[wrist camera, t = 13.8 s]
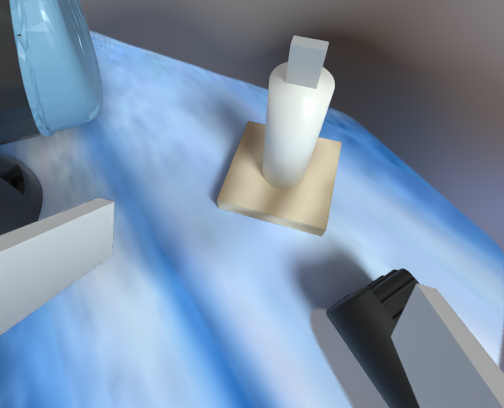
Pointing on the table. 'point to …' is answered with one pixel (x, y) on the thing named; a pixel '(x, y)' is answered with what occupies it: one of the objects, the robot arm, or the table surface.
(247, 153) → the oak board
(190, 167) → the table surface
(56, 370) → the table surface
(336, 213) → the table surface
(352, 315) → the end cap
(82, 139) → the table surface
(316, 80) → the white bottle
